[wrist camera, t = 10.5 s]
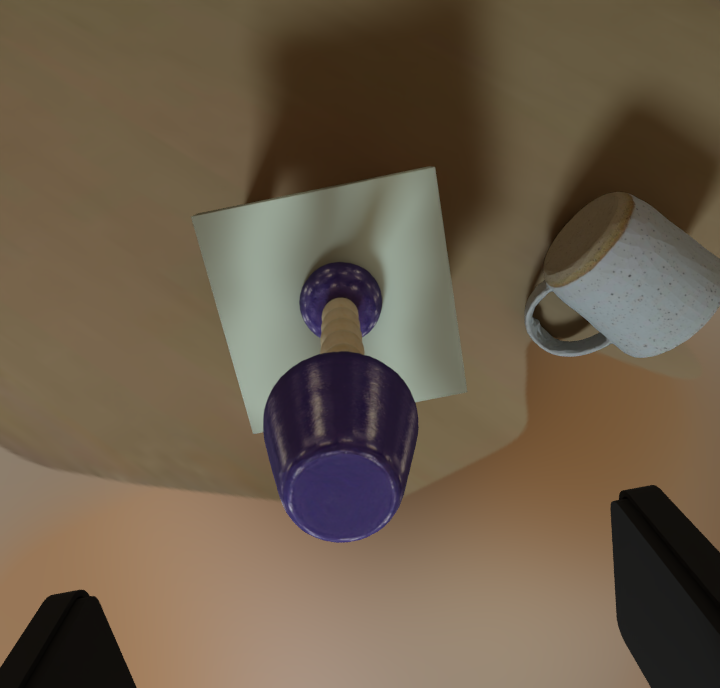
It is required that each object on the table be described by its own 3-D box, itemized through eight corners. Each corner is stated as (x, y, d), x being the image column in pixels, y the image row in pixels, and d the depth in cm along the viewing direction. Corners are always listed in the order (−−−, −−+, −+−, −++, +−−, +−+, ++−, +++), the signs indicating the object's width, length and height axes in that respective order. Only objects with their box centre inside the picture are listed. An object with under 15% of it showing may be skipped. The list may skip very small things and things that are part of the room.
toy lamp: (400, 327, 30) (469, 527, 14) (322, 367, 30) (303, 601, 15) (358, 246, 28) (382, 365, 13) (277, 289, 29) (201, 455, 13)
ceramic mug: (592, 177, 37) (654, 186, 29) (682, 249, 38) (761, 274, 31) (489, 309, 39) (523, 346, 32) (577, 370, 41) (627, 419, 34)
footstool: (410, 163, 36) (435, 167, 27) (438, 340, 40) (467, 391, 31) (224, 201, 36) (191, 216, 28) (270, 373, 40) (253, 434, 31)
